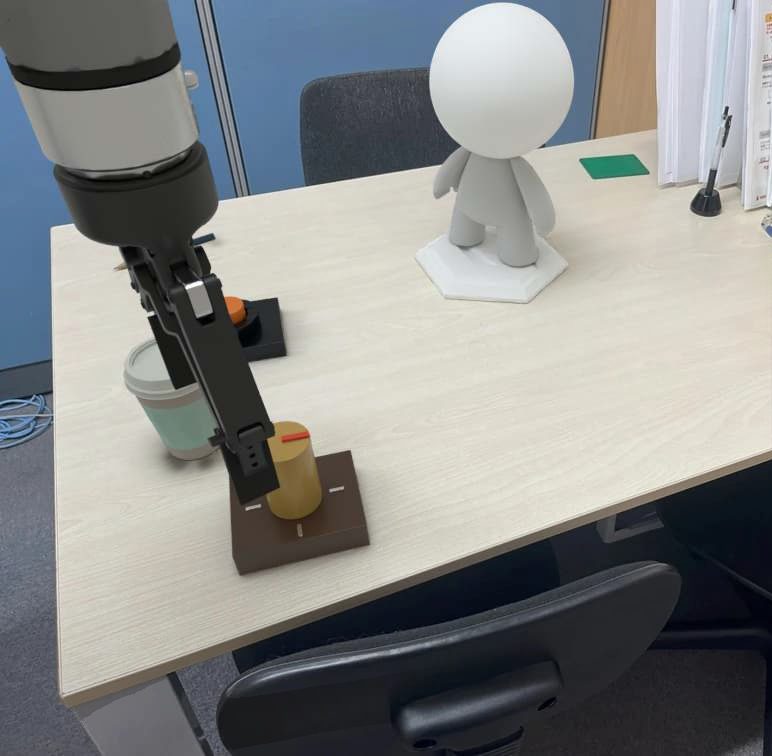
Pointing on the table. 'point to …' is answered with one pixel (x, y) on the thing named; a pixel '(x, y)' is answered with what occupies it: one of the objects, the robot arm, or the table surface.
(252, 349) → the button box
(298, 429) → the lock knob
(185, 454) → the coffee cup
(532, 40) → the big headed doll
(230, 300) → the button
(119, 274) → the table surface
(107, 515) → the table surface
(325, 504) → the plate
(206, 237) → the pencil
